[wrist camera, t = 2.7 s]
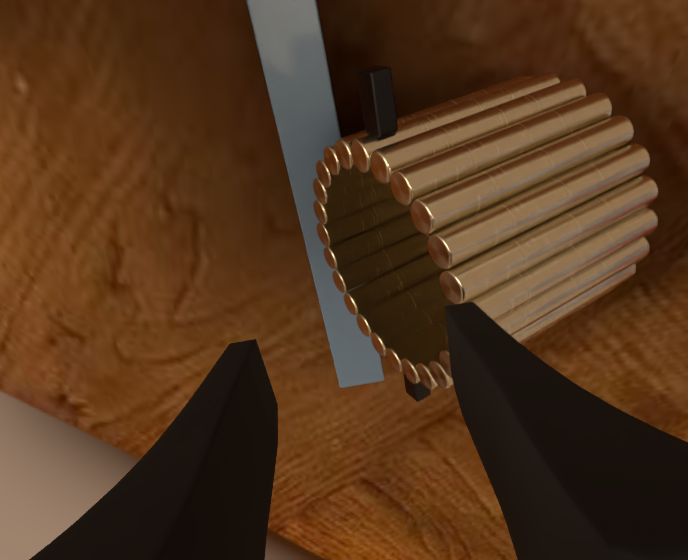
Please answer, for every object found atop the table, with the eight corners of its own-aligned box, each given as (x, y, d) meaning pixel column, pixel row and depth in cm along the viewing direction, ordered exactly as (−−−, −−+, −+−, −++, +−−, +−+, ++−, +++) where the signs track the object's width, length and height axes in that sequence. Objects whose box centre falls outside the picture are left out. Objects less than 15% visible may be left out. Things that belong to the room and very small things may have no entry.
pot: (566, -2, 18) (805, 21, 9) (555, 269, 23) (697, 445, 14) (286, 54, 18) (257, 126, 10) (340, 306, 24) (354, 497, 15)
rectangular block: (309, -40, 17) (308, -42, 15) (378, 346, 25) (384, 380, 23) (248, -28, 17) (239, -28, 15) (337, 353, 25) (340, 388, 23)
